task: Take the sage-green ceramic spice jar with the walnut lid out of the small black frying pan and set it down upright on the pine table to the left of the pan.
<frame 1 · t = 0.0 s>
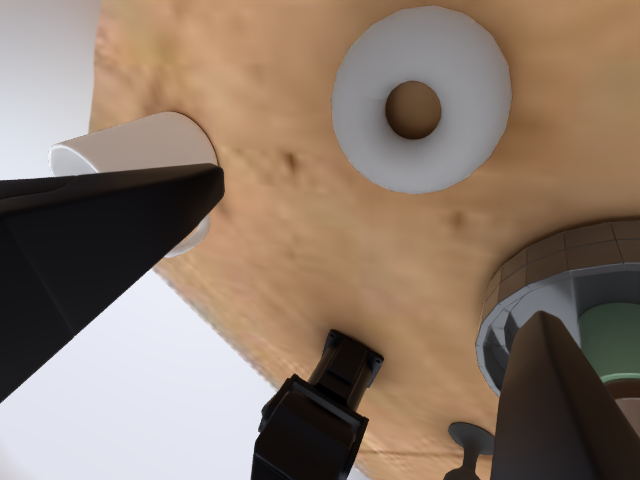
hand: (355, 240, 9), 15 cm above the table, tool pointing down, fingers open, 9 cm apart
sundae: (473, 436, 35), on the table
donut: (419, 104, 20), on the table
black frying pan: (621, 324, 21), on the table
spice jar: (622, 329, 21), resting on black frying pan
cup: (199, 169, 33), on the table
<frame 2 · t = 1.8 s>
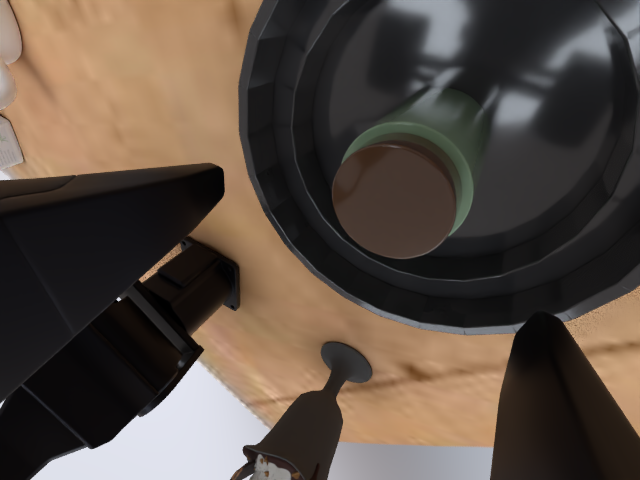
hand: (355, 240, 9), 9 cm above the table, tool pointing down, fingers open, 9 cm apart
sundae: (347, 360, 29), on the table
syrup box: (3, 129, 38), on the table
black frying pan: (437, 138, 15), on the table
spice jar: (434, 141, 15), resting on black frying pan
cup: (6, 29, 27), on the table
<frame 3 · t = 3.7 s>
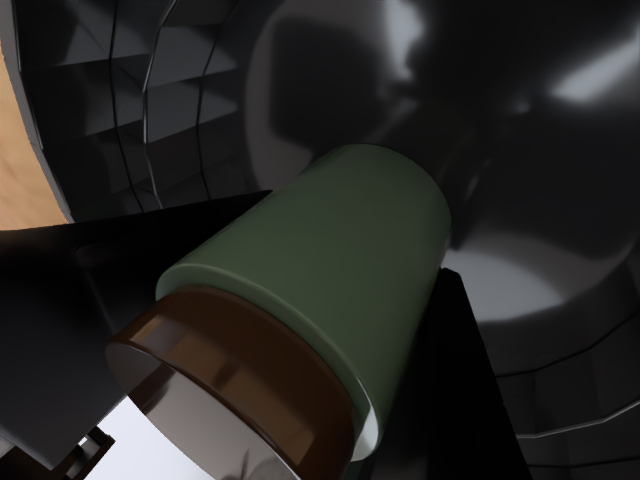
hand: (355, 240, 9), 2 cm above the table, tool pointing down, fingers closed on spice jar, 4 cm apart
black frying pan: (374, 214, 10), on the table
spice jar: (368, 221, 9), point 1 cm above the table, touching gripper, black frying pan
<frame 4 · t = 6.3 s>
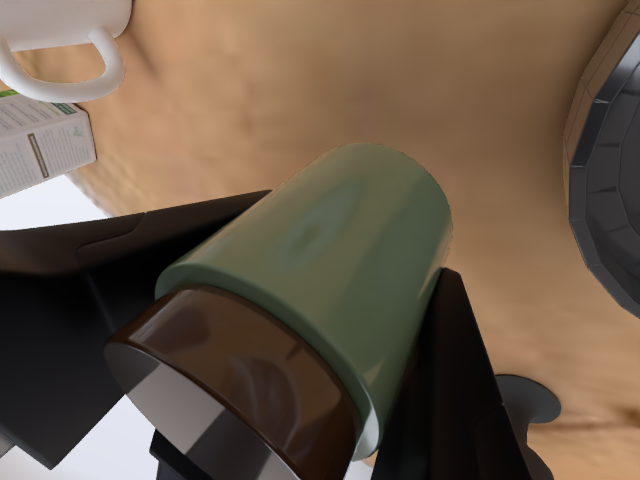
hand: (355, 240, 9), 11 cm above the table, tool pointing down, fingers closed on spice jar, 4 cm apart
sundae: (519, 396, 24), on the table
syrup box: (75, 124, 33), on the table
spice jar: (368, 221, 9), point 10 cm above the table, touching gripper
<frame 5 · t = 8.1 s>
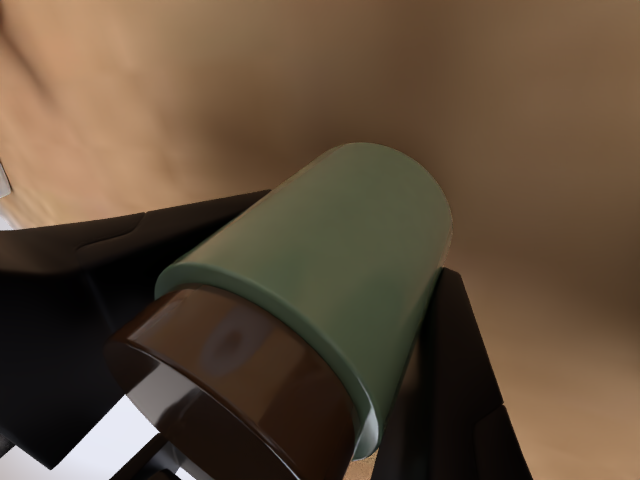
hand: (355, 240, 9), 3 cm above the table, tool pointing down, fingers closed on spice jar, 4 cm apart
spice jar: (368, 220, 9), point 2 cm above the table, touching gripper
when the fingers open (1 cm above the table, at t = 9.1 s): spice jar stays where it is, on the table.
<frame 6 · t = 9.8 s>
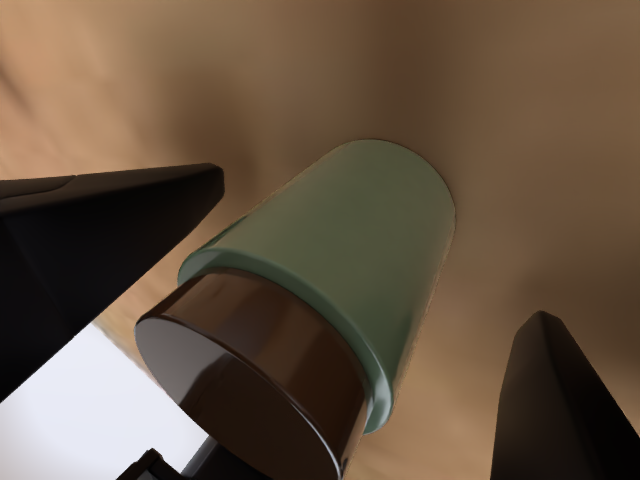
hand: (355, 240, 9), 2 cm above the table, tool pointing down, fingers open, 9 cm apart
spice jar: (374, 215, 10), on the table
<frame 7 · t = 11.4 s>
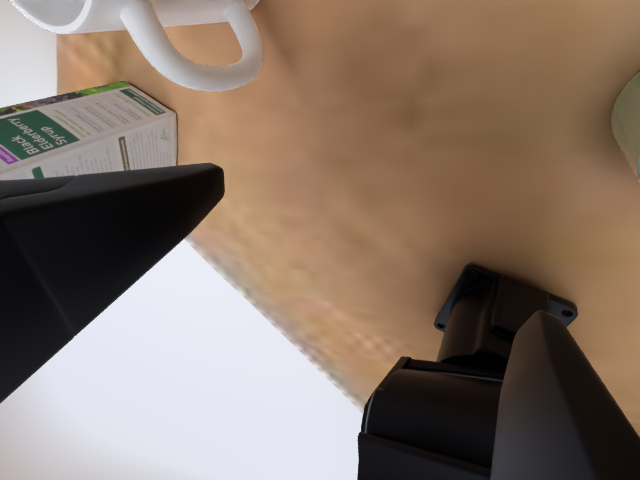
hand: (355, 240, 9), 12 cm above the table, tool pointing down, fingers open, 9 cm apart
syrup box: (155, 127, 29), on the table
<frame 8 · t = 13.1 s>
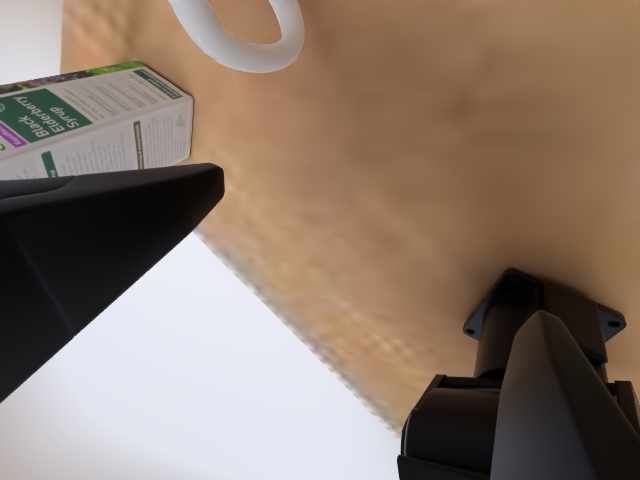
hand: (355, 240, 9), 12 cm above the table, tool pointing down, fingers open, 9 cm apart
syrup box: (168, 112, 27), on the table
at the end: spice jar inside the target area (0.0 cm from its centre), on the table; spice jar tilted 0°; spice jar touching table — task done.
